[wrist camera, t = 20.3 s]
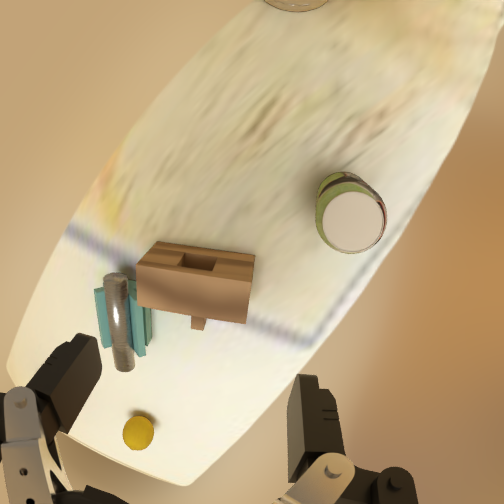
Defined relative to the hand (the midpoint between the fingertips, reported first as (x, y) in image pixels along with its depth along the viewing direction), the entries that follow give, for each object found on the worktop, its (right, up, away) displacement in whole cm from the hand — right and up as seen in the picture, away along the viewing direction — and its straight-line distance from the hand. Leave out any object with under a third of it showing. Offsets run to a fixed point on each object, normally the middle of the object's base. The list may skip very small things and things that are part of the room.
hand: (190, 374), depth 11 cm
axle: (-15, -5, +27) cm, 31 cm away
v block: (-15, -3, +30) cm, 34 cm away
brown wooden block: (-4, 0, +28) cm, 28 cm away
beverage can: (+12, +11, +23) cm, 28 cm away
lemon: (-18, -26, +40) cm, 51 cm away
